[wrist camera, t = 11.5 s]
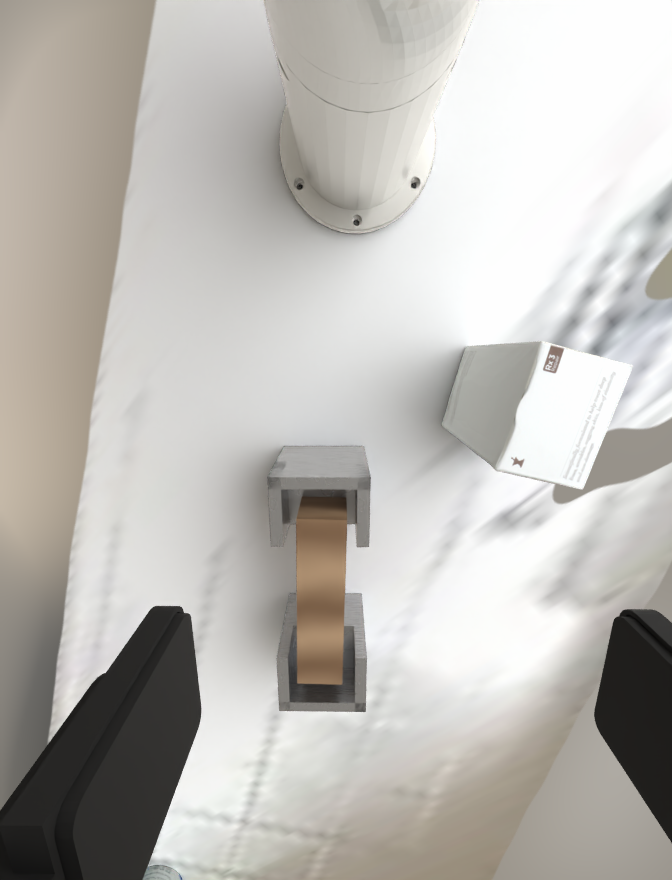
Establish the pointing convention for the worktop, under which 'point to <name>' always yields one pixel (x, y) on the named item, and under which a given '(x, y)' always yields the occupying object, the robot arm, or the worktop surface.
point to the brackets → (350, 478)
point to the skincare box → (535, 408)
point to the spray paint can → (161, 873)
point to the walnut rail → (321, 588)
